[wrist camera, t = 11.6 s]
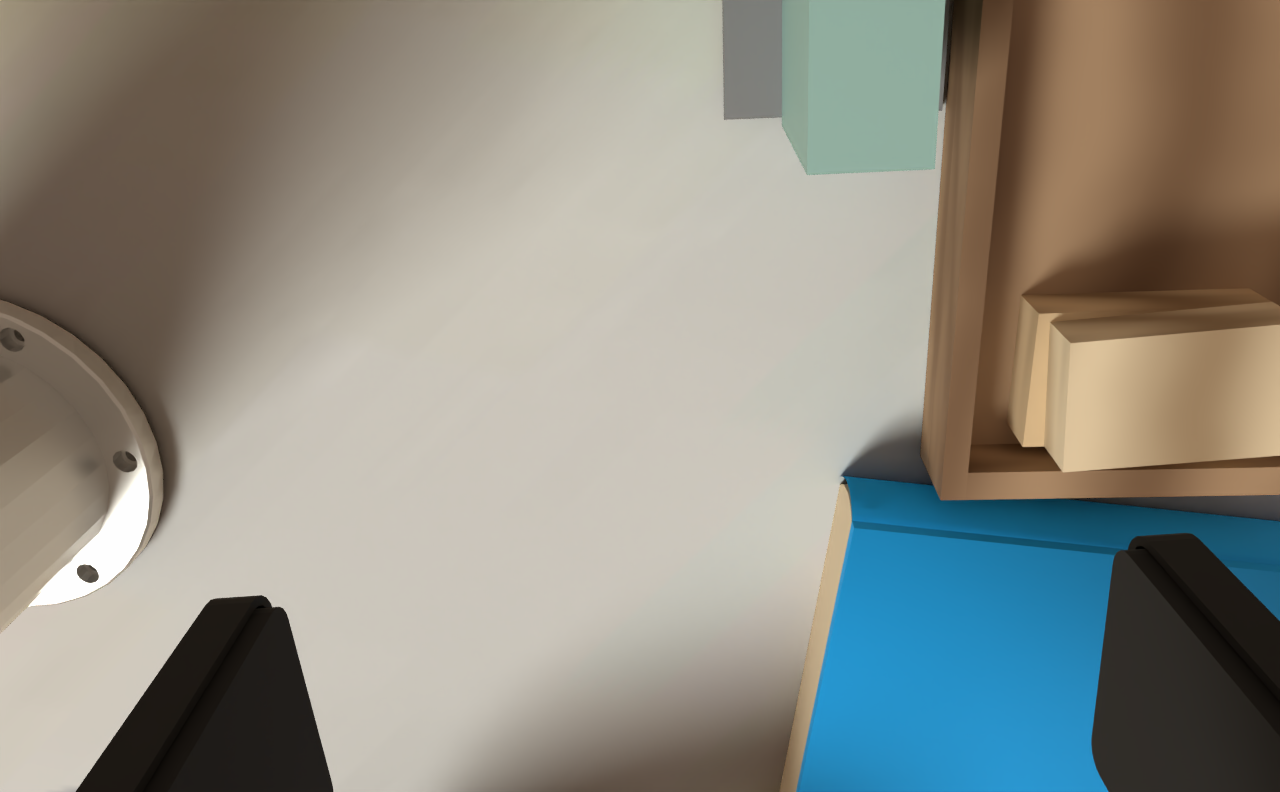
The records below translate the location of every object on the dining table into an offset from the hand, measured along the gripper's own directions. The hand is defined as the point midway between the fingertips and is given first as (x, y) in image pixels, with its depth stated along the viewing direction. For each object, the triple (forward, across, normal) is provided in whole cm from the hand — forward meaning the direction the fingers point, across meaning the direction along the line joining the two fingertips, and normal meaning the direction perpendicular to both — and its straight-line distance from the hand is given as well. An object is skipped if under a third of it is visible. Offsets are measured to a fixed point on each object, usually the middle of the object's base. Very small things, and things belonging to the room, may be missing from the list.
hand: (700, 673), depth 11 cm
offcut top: (+19, -15, +5) cm, 25 cm away
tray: (+22, -15, 0) cm, 27 cm away
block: (+22, -5, -7) cm, 24 cm away
